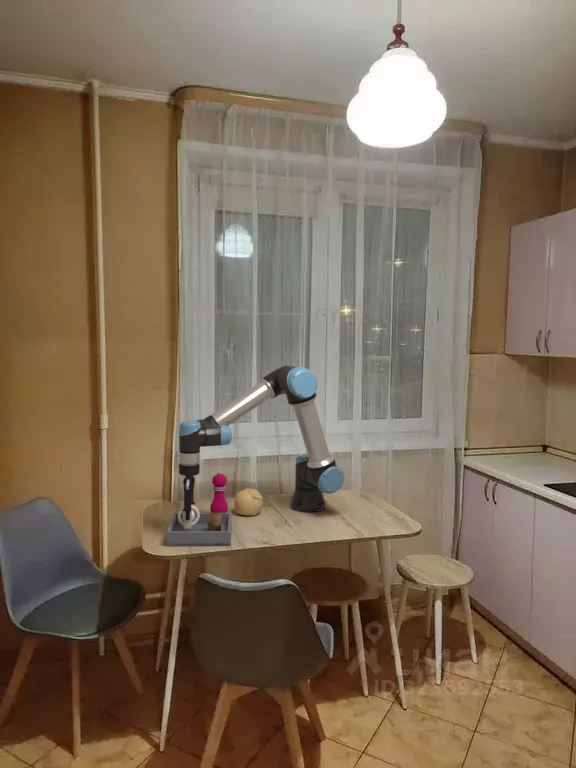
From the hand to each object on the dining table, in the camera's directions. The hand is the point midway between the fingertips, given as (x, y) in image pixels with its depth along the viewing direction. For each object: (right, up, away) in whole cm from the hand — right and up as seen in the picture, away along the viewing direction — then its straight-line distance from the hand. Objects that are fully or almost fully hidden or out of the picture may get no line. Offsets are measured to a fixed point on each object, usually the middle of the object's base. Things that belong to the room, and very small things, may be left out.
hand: (188, 524), depth 219 cm
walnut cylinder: (+9, -3, +1) cm, 10 cm away
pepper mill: (+9, -3, +20) cm, 22 cm away
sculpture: (+20, -2, +28) cm, 35 cm away
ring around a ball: (0, 0, 0) cm, 0 cm away
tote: (+4, -4, +1) cm, 6 cm away
